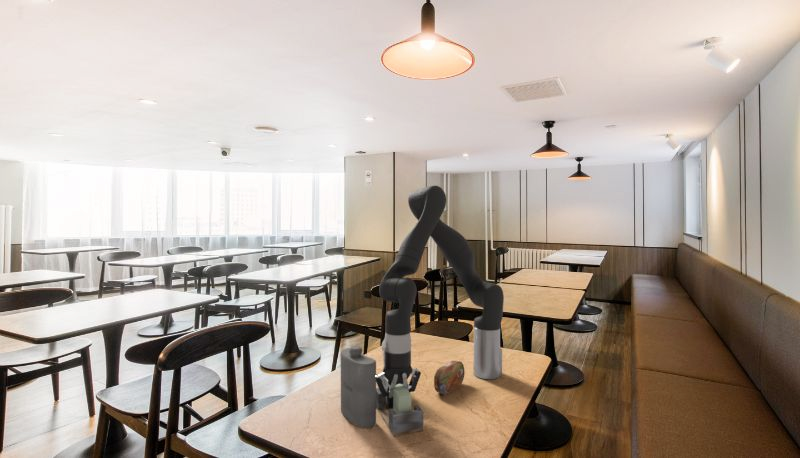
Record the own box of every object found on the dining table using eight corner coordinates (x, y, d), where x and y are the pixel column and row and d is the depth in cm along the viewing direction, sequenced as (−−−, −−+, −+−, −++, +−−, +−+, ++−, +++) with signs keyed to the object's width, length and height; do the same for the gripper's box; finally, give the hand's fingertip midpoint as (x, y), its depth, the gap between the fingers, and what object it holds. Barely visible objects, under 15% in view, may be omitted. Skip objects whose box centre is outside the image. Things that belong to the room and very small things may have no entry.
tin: (440, 398, 120) (440, 372, 120) (432, 395, 122) (432, 369, 122) (465, 383, 132) (465, 358, 132) (457, 380, 134) (457, 356, 134)
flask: (335, 409, 114) (335, 342, 113) (352, 403, 117) (352, 338, 116) (360, 432, 102) (360, 357, 101) (379, 425, 105) (379, 352, 104)
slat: (396, 400, 116) (396, 377, 115) (411, 420, 104) (411, 394, 104) (385, 401, 114) (385, 378, 114) (399, 422, 103) (399, 396, 103)
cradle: (401, 400, 119) (401, 384, 119) (423, 430, 103) (423, 411, 102) (374, 405, 116) (374, 388, 116) (393, 436, 100) (393, 416, 100)
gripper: (415, 341, 115) (415, 398, 115) (370, 346, 110) (370, 405, 110) (426, 349, 108) (425, 409, 108) (377, 355, 103) (377, 418, 103)
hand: (397, 407), depth 109 cm, fingers closed on slat, 3 cm apart
